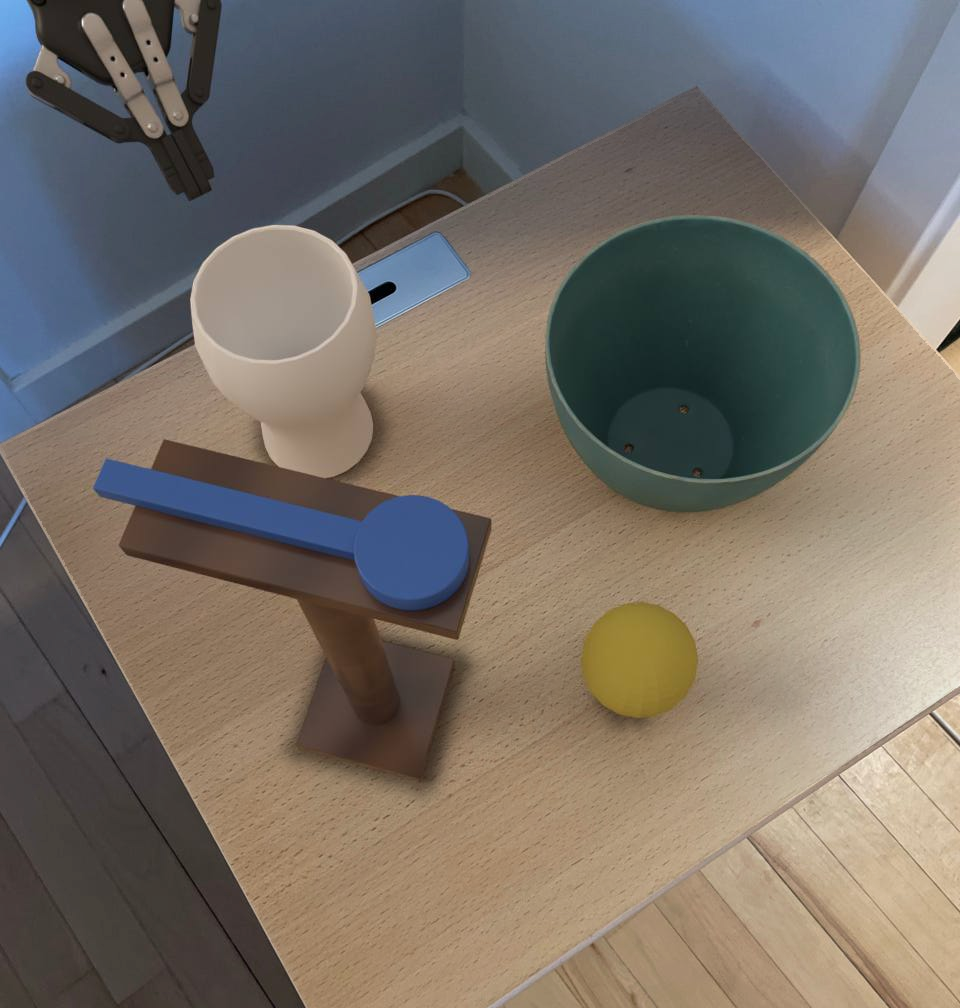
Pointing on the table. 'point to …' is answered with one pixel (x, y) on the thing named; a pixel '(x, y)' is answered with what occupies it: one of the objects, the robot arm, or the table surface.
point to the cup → (289, 343)
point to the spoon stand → (322, 607)
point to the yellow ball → (639, 660)
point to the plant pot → (699, 360)
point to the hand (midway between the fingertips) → (200, 195)
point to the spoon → (320, 530)
